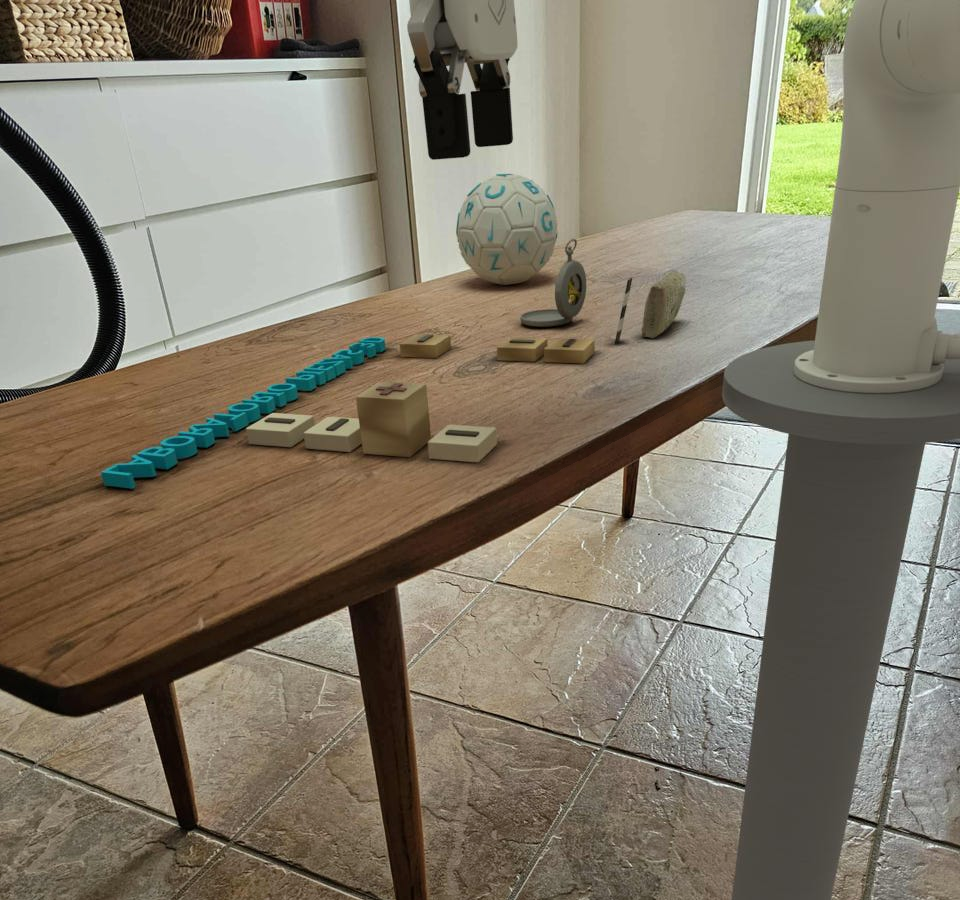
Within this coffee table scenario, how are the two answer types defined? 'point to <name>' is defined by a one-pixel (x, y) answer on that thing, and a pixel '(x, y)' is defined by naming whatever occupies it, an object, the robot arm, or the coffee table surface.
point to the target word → (347, 436)
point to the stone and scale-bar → (658, 304)
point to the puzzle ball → (507, 229)
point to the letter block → (394, 418)
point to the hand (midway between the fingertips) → (473, 151)
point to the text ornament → (238, 415)
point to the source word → (507, 348)
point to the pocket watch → (562, 295)
